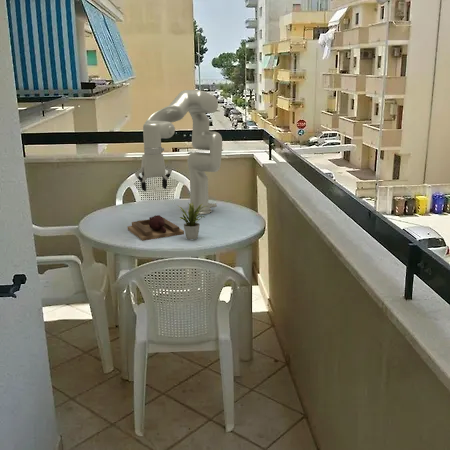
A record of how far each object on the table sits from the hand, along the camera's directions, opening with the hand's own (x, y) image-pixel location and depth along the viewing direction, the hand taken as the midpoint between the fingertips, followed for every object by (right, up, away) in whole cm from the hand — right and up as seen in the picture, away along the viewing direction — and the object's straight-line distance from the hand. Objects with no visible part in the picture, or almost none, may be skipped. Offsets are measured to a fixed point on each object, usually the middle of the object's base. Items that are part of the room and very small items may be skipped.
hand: (154, 189), depth 228 cm
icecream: (+1, -18, +5) cm, 19 cm away
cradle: (0, -19, +6) cm, 20 cm away
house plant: (+18, -22, -4) cm, 29 cm away
